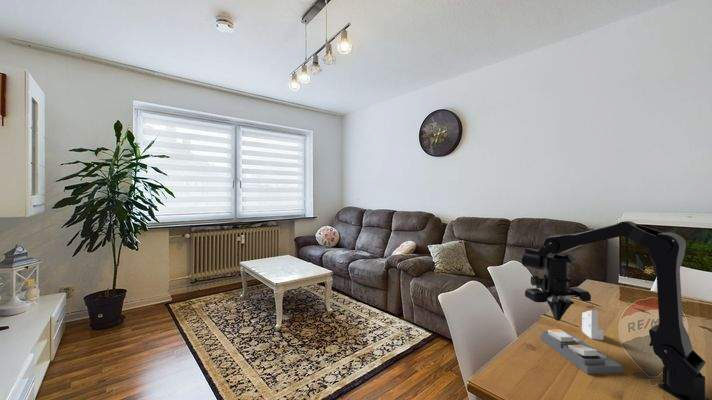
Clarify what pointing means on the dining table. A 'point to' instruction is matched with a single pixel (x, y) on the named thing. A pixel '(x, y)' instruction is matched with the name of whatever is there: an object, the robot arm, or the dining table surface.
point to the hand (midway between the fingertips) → (557, 320)
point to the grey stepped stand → (583, 362)
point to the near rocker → (583, 350)
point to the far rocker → (560, 335)
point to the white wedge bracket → (592, 325)
